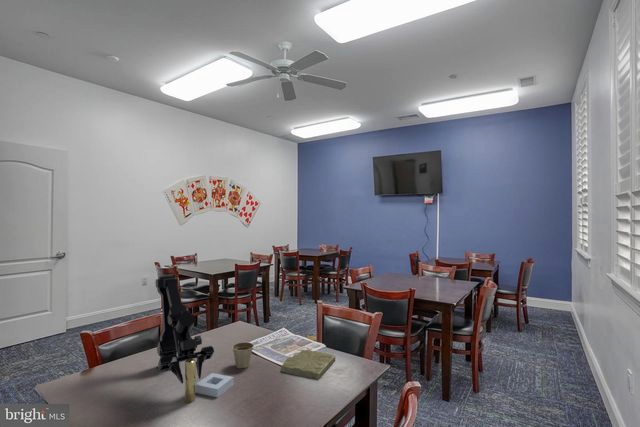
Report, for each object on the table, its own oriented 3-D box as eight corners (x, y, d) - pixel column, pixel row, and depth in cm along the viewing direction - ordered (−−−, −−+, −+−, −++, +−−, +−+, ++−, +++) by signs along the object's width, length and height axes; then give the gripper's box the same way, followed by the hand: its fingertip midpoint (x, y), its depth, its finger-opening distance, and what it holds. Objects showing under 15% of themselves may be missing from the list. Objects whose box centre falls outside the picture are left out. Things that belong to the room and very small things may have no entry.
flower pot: (248, 371, 145) (248, 351, 145) (228, 369, 147) (228, 349, 147) (257, 362, 154) (257, 343, 154) (237, 360, 156) (237, 341, 156)
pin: (182, 401, 121) (183, 362, 121) (189, 397, 124) (189, 358, 124) (190, 403, 120) (190, 363, 120) (197, 398, 123) (197, 359, 123)
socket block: (195, 392, 127) (195, 384, 127) (212, 380, 137) (212, 372, 137) (217, 397, 124) (217, 389, 124) (233, 384, 133) (233, 377, 133)
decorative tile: (335, 361, 156) (335, 353, 156) (319, 381, 138) (319, 372, 138) (299, 354, 164) (299, 347, 164) (278, 372, 145) (278, 364, 145)
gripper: (159, 334, 120) (166, 377, 111) (212, 324, 131) (222, 363, 122) (155, 349, 126) (161, 392, 117) (206, 339, 137) (215, 377, 128)
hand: (191, 380), depth 121 cm, fingers open, 6 cm apart
